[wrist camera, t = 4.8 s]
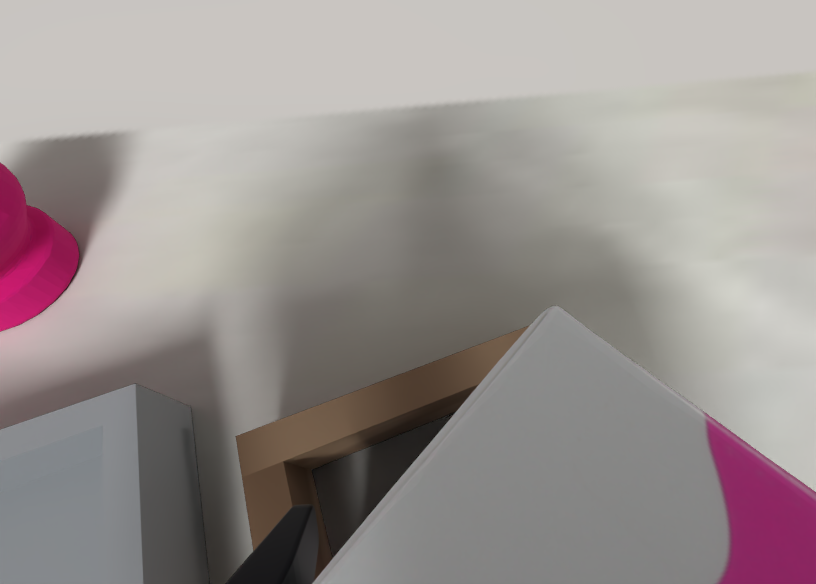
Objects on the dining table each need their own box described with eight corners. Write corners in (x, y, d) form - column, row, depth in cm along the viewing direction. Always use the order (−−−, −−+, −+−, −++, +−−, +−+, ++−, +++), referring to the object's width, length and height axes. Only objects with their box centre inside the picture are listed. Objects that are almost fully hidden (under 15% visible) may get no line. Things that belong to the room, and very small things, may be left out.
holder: (364, 910, 10) (339, 1104, 6) (273, 449, 15) (235, 436, 12) (733, 690, 11) (851, 760, 8) (536, 347, 16) (564, 312, 13)
